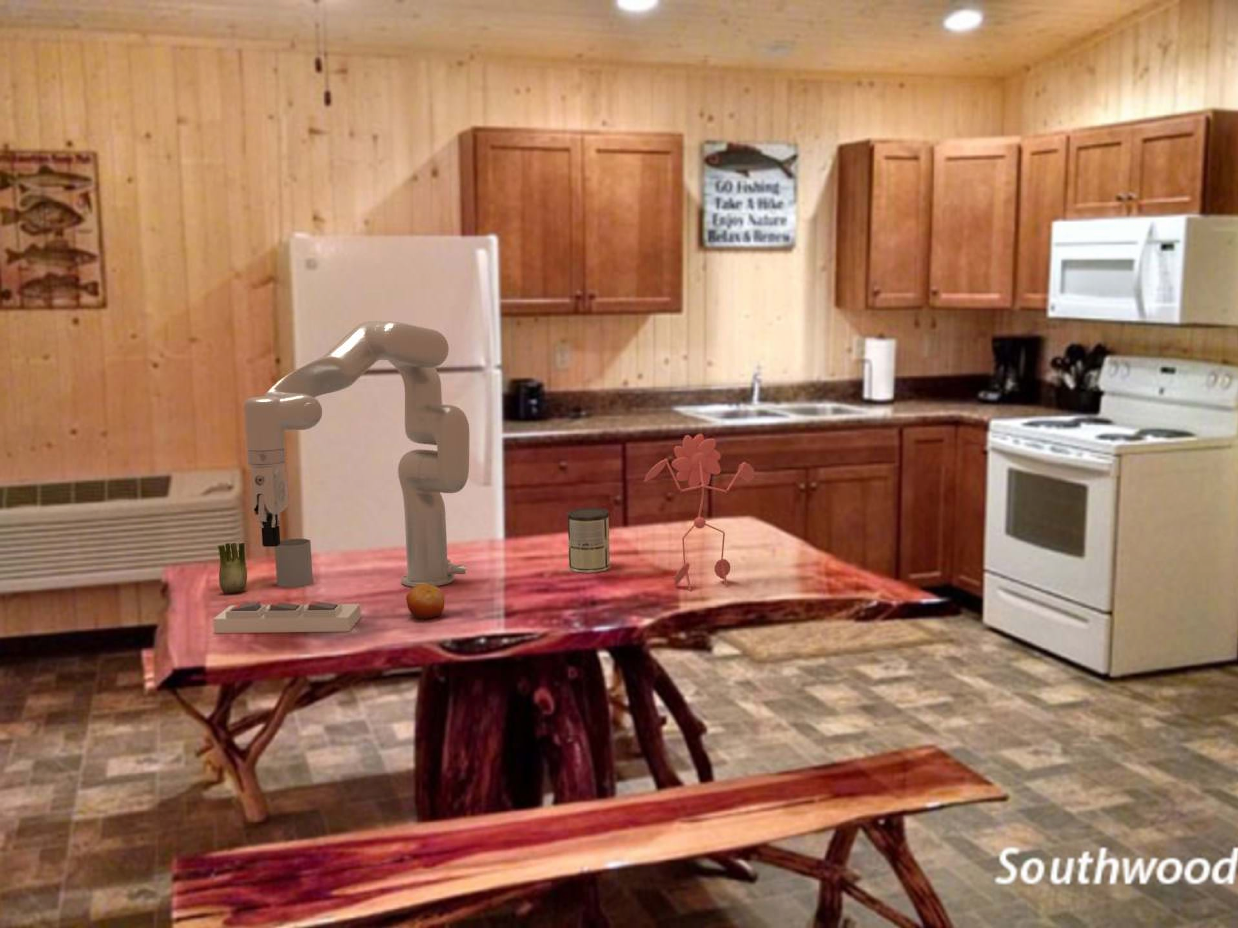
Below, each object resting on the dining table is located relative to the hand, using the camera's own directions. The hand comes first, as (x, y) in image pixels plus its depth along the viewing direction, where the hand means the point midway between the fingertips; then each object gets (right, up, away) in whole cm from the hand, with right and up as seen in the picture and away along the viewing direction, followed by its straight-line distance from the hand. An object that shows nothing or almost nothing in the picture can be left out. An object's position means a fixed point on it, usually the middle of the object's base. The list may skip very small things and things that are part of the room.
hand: (271, 545), depth 246 cm
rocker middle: (+2, -13, +2) cm, 13 cm away
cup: (-6, -12, +40) cm, 42 cm away
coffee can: (+64, -9, +49) cm, 81 cm away
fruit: (+30, -16, +9) cm, 36 cm away
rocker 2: (+10, -13, +2) cm, 16 cm away
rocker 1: (-6, -13, +2) cm, 15 cm away
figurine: (+90, -11, +33) cm, 96 cm away
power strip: (+2, -17, +5) cm, 18 cm away
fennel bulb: (-18, -13, +32) cm, 39 cm away
